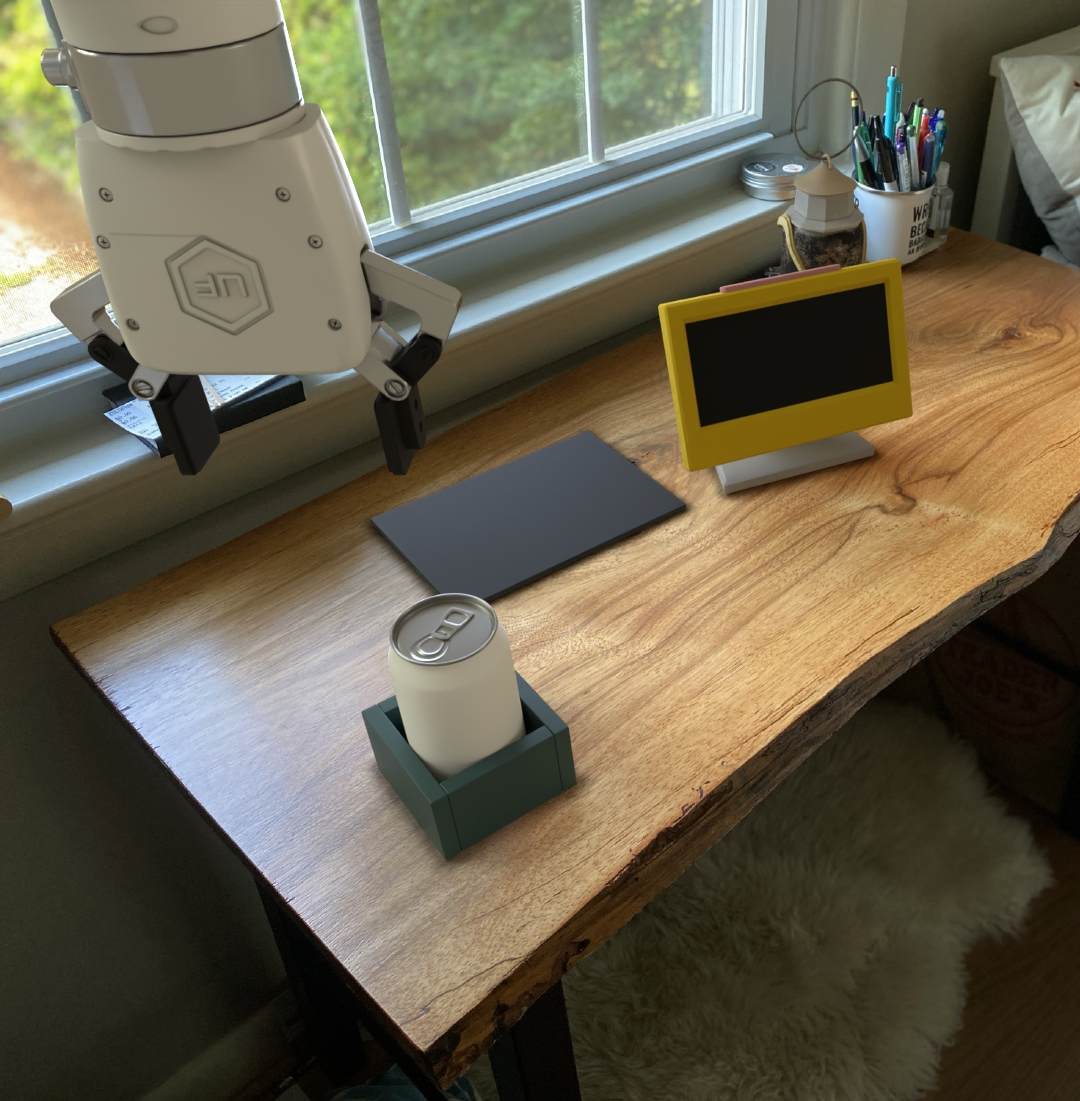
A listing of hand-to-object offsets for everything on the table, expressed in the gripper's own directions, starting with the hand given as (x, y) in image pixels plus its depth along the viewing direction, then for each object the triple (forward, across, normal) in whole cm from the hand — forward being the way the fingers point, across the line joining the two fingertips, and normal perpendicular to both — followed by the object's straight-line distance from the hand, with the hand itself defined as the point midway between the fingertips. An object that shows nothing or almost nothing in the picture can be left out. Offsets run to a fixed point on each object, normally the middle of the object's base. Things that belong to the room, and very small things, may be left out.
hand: (304, 459), depth 52 cm
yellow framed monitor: (+23, +24, +34) cm, 48 cm away
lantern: (+23, +28, +53) cm, 64 cm away
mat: (+22, +4, +26) cm, 34 cm away
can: (+23, +5, 0) cm, 23 cm away
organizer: (+22, +5, 0) cm, 23 cm away
